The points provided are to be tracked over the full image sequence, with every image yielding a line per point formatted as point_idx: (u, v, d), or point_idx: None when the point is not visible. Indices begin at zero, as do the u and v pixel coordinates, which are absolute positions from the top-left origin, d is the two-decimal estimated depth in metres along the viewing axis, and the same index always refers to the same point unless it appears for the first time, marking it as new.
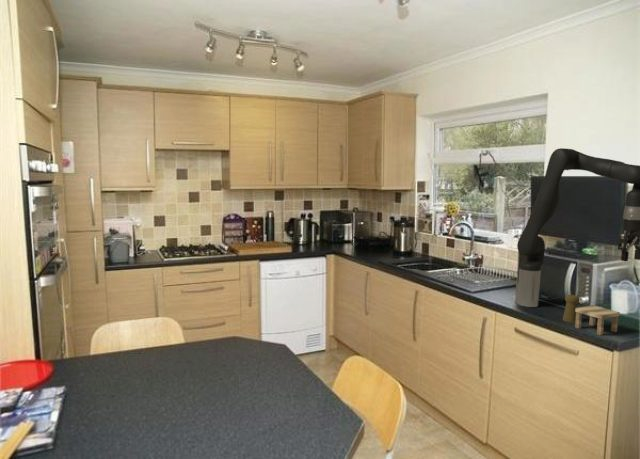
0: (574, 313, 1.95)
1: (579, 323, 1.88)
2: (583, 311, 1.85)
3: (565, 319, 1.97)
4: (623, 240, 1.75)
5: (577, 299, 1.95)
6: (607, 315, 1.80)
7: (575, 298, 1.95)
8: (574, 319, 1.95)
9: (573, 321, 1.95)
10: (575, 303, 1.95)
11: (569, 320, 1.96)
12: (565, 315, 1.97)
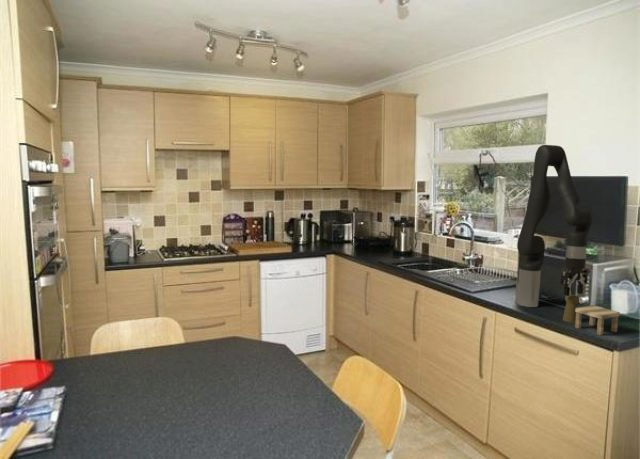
0: (574, 313, 1.95)
1: (579, 323, 1.88)
2: (583, 311, 1.85)
3: (565, 319, 1.97)
4: (564, 277, 1.92)
5: (577, 299, 1.95)
6: (607, 315, 1.80)
7: (575, 298, 1.95)
8: (574, 319, 1.95)
9: (573, 321, 1.95)
10: (575, 303, 1.95)
11: (569, 320, 1.96)
12: (565, 315, 1.97)
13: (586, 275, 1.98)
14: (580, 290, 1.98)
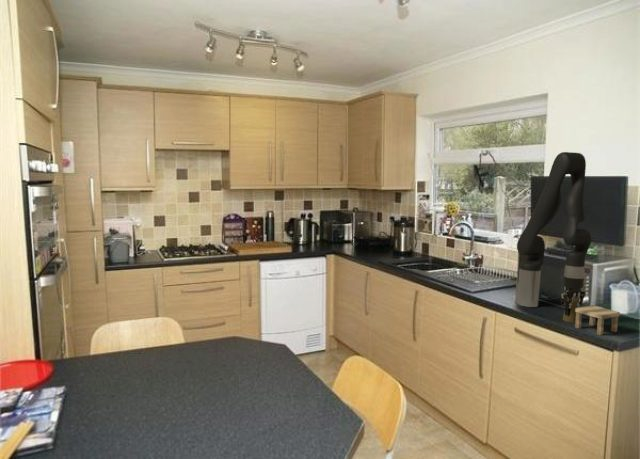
0: (574, 313, 1.95)
1: (579, 323, 1.88)
2: (583, 311, 1.85)
3: (565, 319, 1.97)
4: (564, 299, 1.94)
5: (577, 299, 1.95)
6: (607, 315, 1.80)
7: (575, 298, 1.95)
8: (574, 319, 1.95)
9: (573, 321, 1.95)
10: (575, 303, 1.95)
11: (569, 320, 1.96)
12: (565, 315, 1.97)
13: (582, 297, 1.98)
14: None
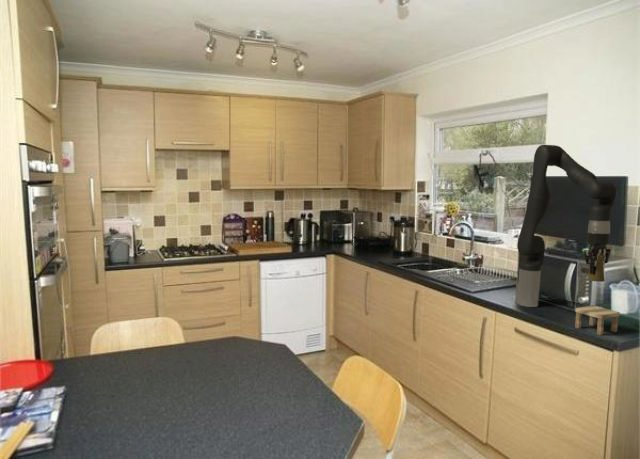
0: (600, 271, 1.84)
1: (579, 323, 1.88)
2: (583, 311, 1.85)
3: (590, 278, 1.85)
4: (589, 256, 1.82)
5: (603, 256, 1.83)
6: (607, 315, 1.80)
7: (601, 255, 1.83)
8: (600, 278, 1.83)
9: (599, 280, 1.83)
10: (601, 260, 1.83)
11: (595, 279, 1.84)
12: (590, 274, 1.86)
13: (608, 255, 1.87)
14: None
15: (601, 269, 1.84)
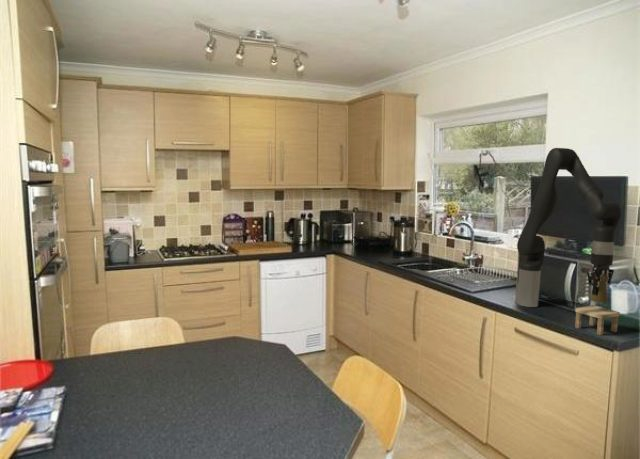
0: (603, 292, 1.83)
1: (579, 323, 1.88)
2: (583, 311, 1.85)
3: (593, 299, 1.84)
4: (591, 277, 1.81)
5: (606, 277, 1.82)
6: (607, 315, 1.80)
7: (604, 276, 1.82)
8: (603, 299, 1.83)
9: (602, 301, 1.83)
10: (604, 281, 1.82)
11: (597, 300, 1.83)
12: (593, 295, 1.85)
13: (611, 275, 1.86)
14: None
15: (604, 290, 1.83)
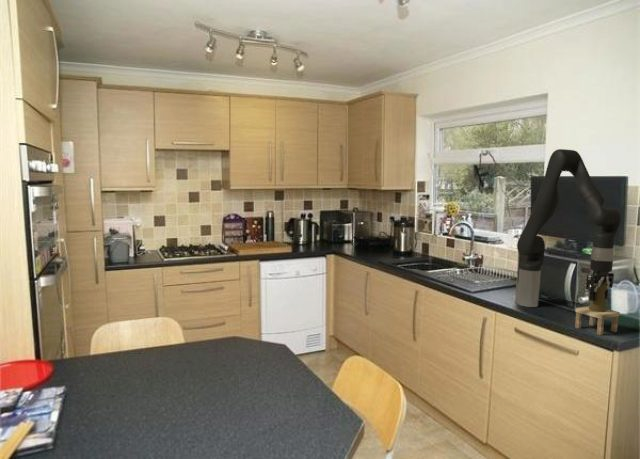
0: (602, 301, 1.83)
1: (579, 323, 1.88)
2: (583, 311, 1.85)
3: (592, 308, 1.85)
4: (590, 281, 1.81)
5: (605, 287, 1.83)
6: (607, 315, 1.80)
7: (603, 286, 1.83)
8: (602, 308, 1.83)
9: (601, 310, 1.83)
10: (603, 291, 1.83)
11: (596, 309, 1.84)
12: (592, 304, 1.85)
13: (612, 279, 1.86)
14: (605, 295, 1.86)
15: (603, 299, 1.83)
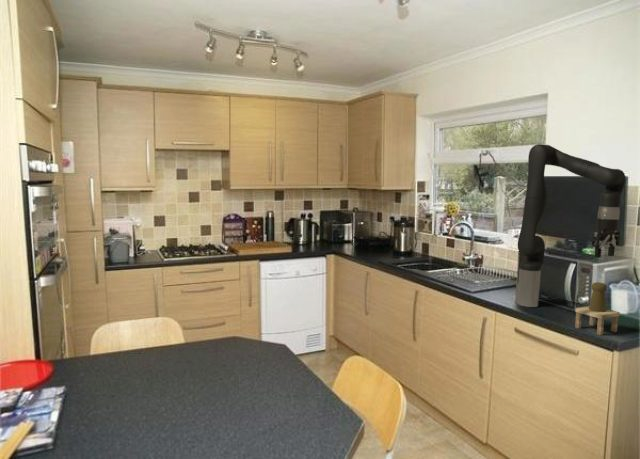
0: (602, 301, 1.83)
1: (579, 323, 1.88)
2: (583, 311, 1.85)
3: (592, 308, 1.85)
4: (596, 238, 1.89)
5: (605, 287, 1.83)
6: (607, 315, 1.80)
7: (603, 286, 1.83)
8: (602, 308, 1.83)
9: (601, 310, 1.83)
10: (603, 291, 1.83)
11: (596, 309, 1.84)
12: (592, 304, 1.85)
13: (618, 237, 1.94)
14: (611, 252, 1.94)
15: (603, 299, 1.83)
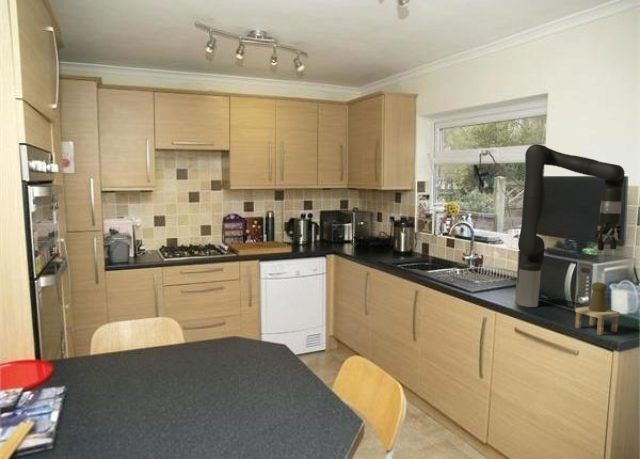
0: (602, 301, 1.83)
1: (579, 323, 1.88)
2: (583, 311, 1.85)
3: (592, 308, 1.85)
4: (599, 231, 1.95)
5: (605, 287, 1.83)
6: (607, 315, 1.80)
7: (603, 286, 1.83)
8: (602, 308, 1.83)
9: (601, 310, 1.83)
10: (603, 291, 1.83)
11: (596, 309, 1.84)
12: (592, 304, 1.85)
13: (620, 231, 2.00)
14: (613, 245, 2.00)
15: (603, 299, 1.83)
